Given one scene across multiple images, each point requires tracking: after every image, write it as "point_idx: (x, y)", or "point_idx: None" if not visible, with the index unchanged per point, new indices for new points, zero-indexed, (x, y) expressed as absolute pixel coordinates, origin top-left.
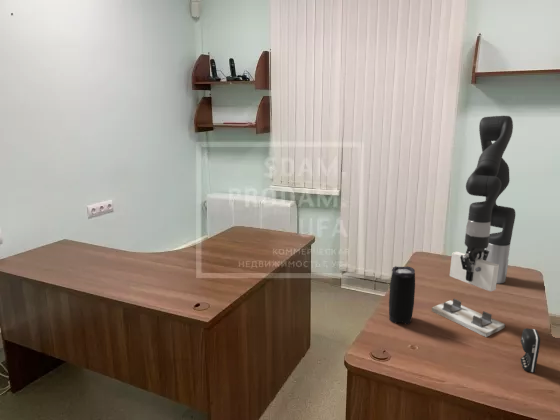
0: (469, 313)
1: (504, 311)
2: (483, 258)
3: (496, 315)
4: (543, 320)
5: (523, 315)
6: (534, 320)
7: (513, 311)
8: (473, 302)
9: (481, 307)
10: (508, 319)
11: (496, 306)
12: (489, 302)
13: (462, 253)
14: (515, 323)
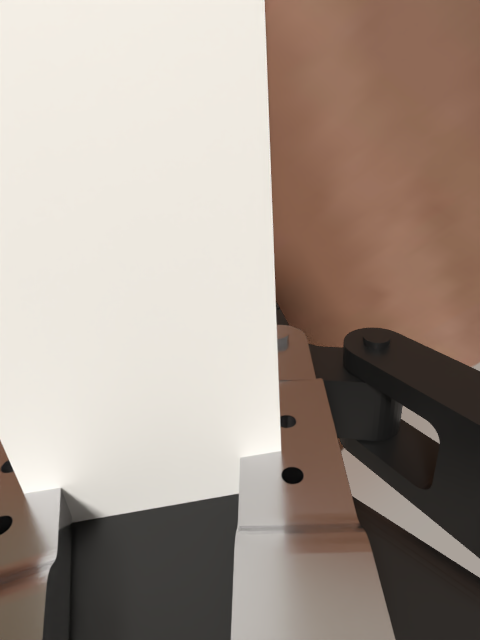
0: None
1: (426, 235)
2: (443, 509)
3: (351, 245)
4: (466, 363)
5: (452, 302)
6: (439, 349)
7: (460, 256)
8: (402, 57)
9: (376, 138)
10: (359, 297)
11: (453, 175)
12: (476, 116)
13: (229, 93)
14: (347, 333)
